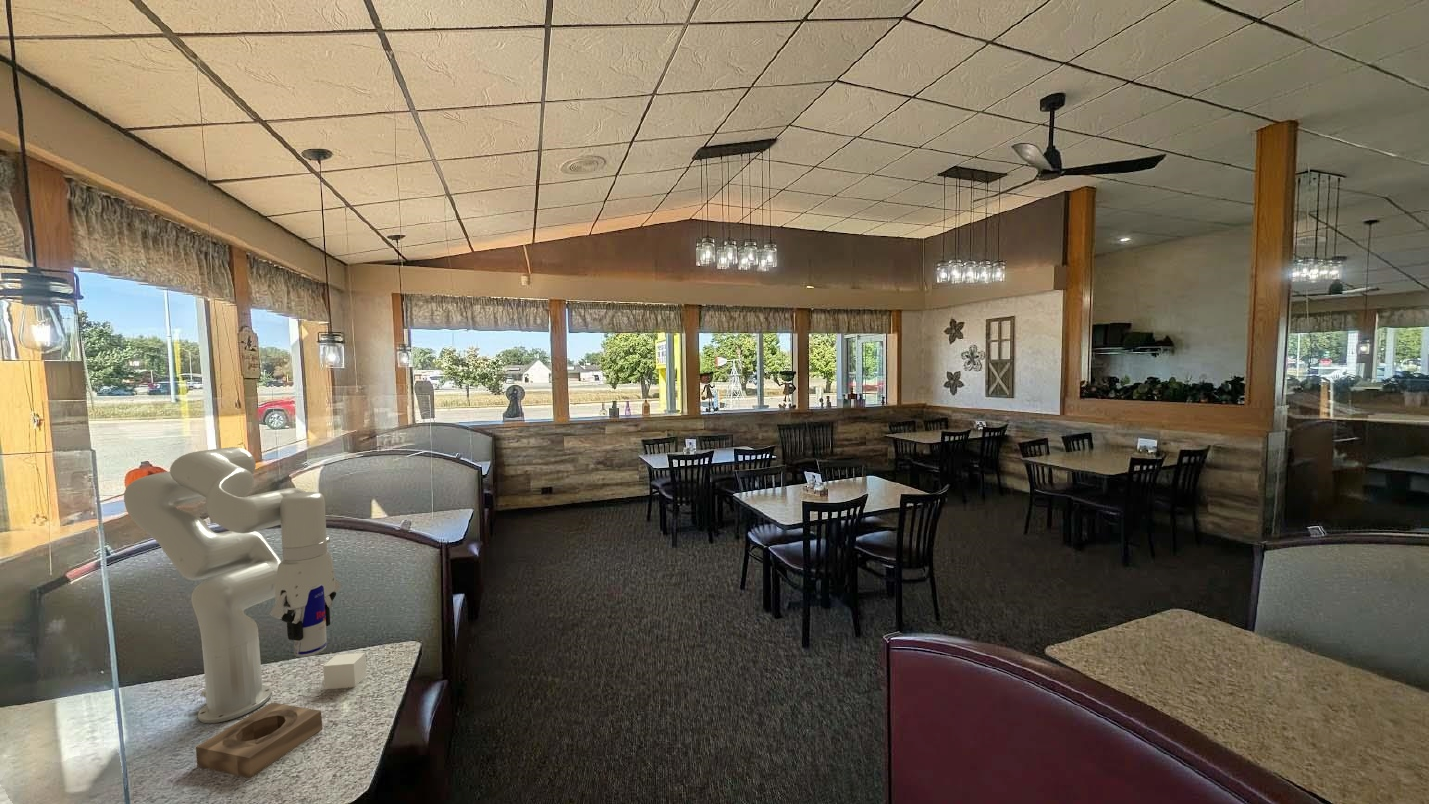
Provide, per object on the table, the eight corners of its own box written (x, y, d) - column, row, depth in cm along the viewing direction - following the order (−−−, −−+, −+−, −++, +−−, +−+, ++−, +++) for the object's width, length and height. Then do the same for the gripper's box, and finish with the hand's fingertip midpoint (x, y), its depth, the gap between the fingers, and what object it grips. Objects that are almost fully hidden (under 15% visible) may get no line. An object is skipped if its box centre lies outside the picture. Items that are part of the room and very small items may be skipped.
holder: (197, 766, 102) (195, 747, 102) (273, 719, 116) (271, 702, 115) (250, 778, 99) (249, 757, 98) (322, 728, 112) (321, 710, 112)
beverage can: (310, 659, 110) (306, 590, 109) (287, 657, 111) (283, 589, 110) (333, 645, 115) (330, 580, 114) (311, 643, 116) (308, 578, 115)
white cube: (324, 689, 127) (323, 666, 126) (337, 678, 132) (335, 655, 131) (355, 687, 127) (353, 663, 127) (366, 675, 132) (365, 652, 132)
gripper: (327, 536, 121) (331, 612, 122) (248, 564, 104) (253, 651, 105) (355, 538, 119) (358, 615, 120) (278, 566, 102) (283, 655, 104)
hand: (309, 631), depth 113 cm, fingers closed on beverage can, 5 cm apart
